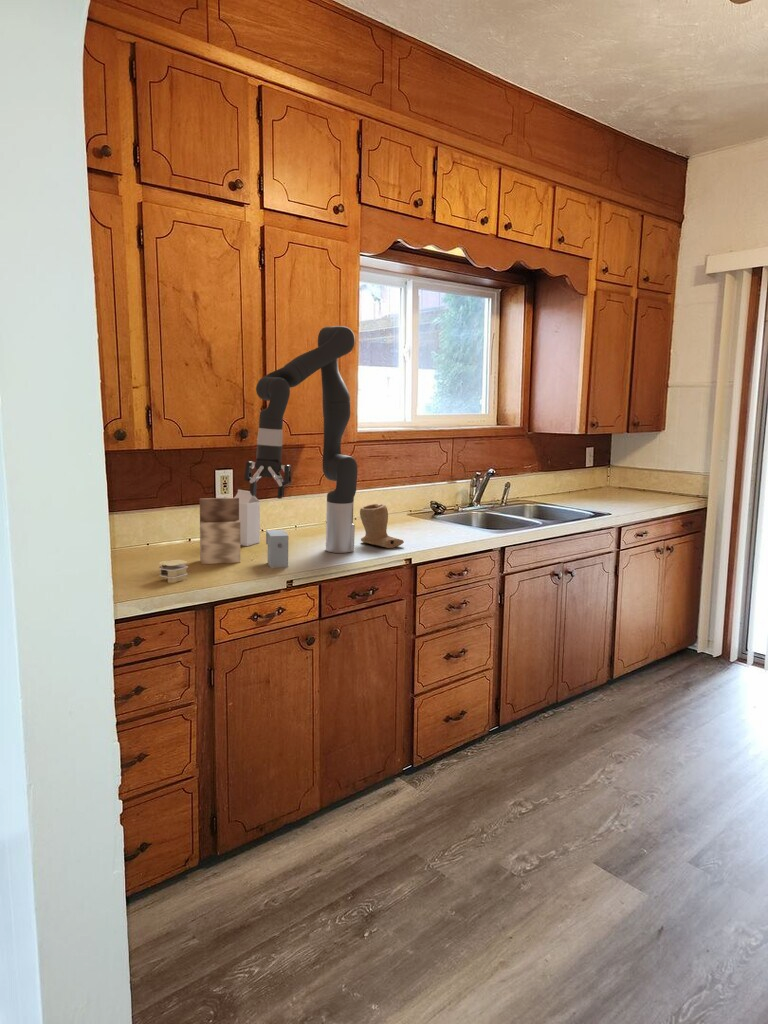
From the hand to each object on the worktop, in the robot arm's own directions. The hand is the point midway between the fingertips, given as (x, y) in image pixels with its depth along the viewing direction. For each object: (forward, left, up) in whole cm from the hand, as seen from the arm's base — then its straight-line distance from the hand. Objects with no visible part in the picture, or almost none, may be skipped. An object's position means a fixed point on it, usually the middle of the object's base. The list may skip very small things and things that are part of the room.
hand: (266, 497), depth 208 cm
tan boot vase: (-44, -22, -22) cm, 54 cm away
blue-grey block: (-4, -3, -22) cm, 23 cm away
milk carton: (+2, -33, -22) cm, 40 cm away
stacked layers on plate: (+28, +9, -23) cm, 37 cm away
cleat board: (+13, -9, -22) cm, 27 cm away
